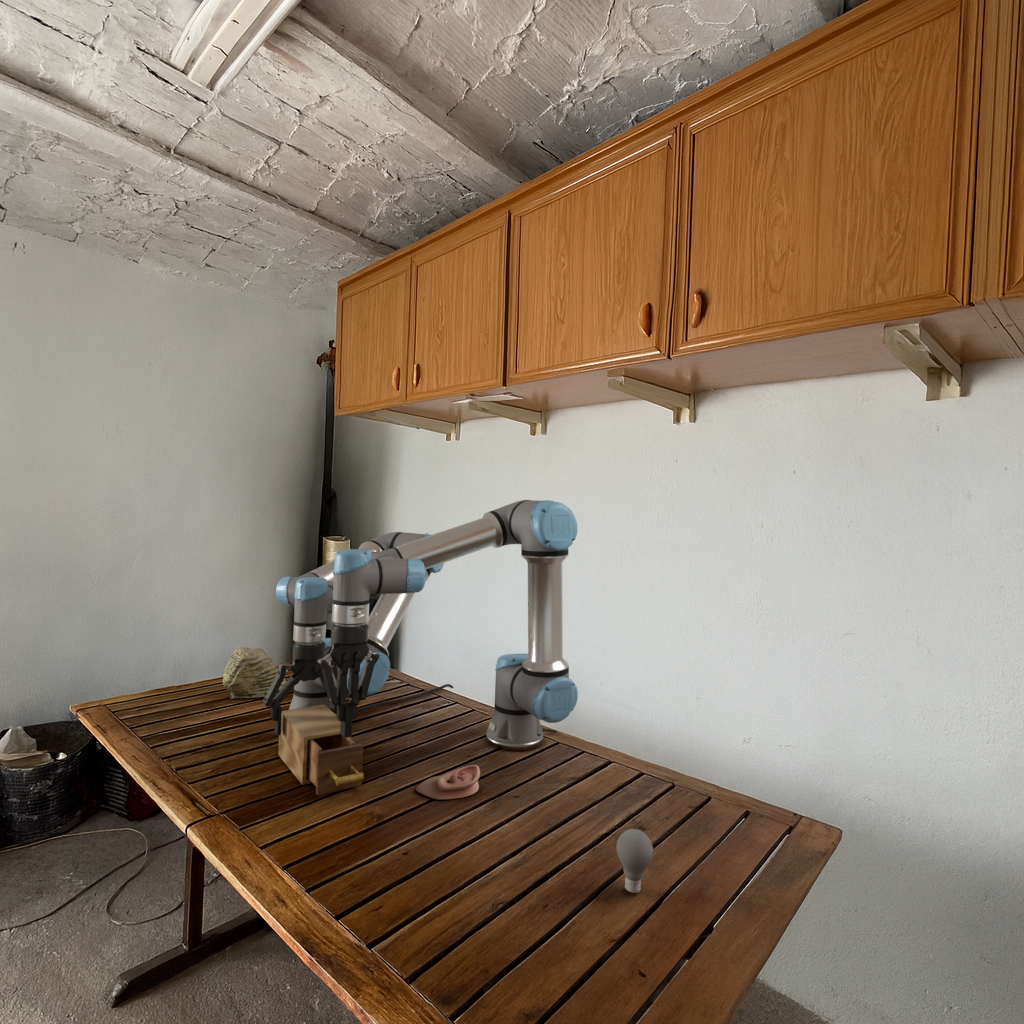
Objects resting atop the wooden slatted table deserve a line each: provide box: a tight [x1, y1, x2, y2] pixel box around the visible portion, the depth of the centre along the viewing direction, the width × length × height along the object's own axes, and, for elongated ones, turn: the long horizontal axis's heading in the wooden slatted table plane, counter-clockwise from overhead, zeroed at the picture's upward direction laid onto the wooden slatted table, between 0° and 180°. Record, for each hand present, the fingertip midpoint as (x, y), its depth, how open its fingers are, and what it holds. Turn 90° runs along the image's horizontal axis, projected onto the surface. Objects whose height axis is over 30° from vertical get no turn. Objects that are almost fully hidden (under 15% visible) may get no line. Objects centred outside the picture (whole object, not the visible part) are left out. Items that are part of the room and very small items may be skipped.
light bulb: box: [615, 828, 654, 894], centre depth 106 cm, size 6×6×10 cm
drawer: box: [306, 734, 365, 796], centre depth 140 cm, size 23×10×9 cm, turn 36°
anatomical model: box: [415, 764, 481, 800], centre depth 140 cm, size 13×4×12 cm
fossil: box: [222, 646, 287, 699], centre depth 198 cm, size 9×18×15 cm, turn 132°
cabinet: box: [278, 705, 352, 786], centre depth 149 cm, size 19×11×11 cm, turn 36°
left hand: (306, 728), depth 154 cm, fingers open, 13 cm apart
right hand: (345, 735), depth 133 cm, fingers closed
